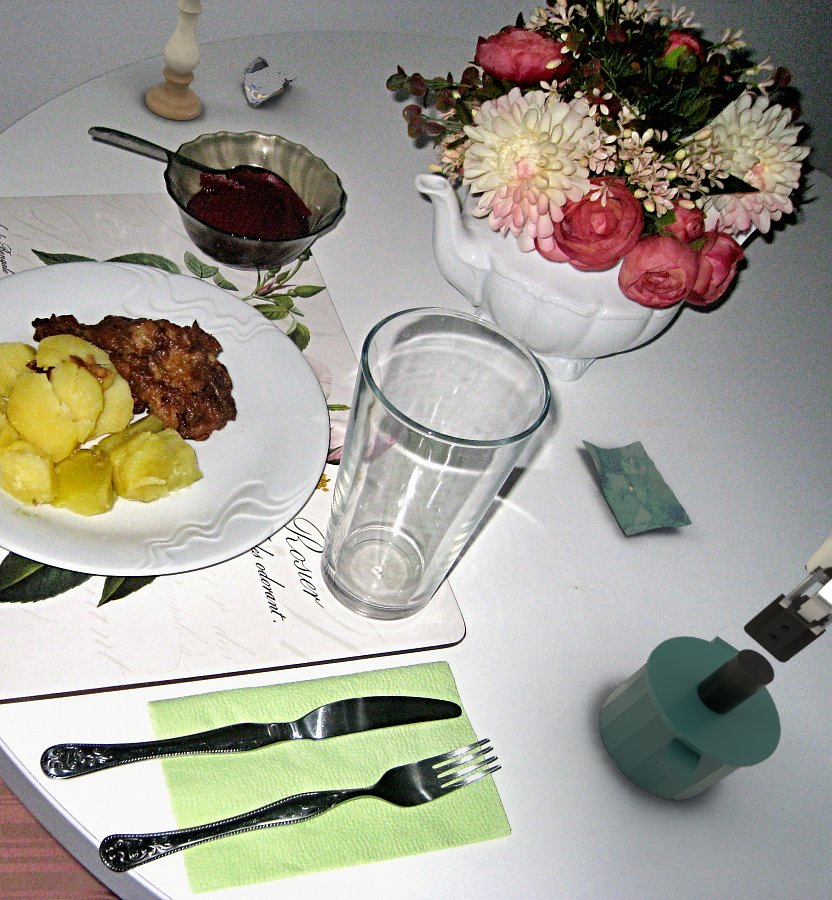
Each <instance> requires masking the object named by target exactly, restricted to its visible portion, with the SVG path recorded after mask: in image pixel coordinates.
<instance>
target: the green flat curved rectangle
mask: <svg viewBox="0 0 832 900" xmlns="http://www.w3.org/2000/svg"><path fill="white" fill-rule="evenodd" d="M581 442H582V444H583V445H584V448H585V449H586V451H587V452H588V454H589V455H590V456H591V458H592V460H593V463H594V465H595V468H596V471H597V473H598V477H599V481H600V484H601V489H602V493H603V496H604V498H605V499H606V501H607V503H608V504H609V506H610V508H611V510H612V512H613V513H614V516H615V519H616V521H617V523H618V524H619V525H620V527H621V529H622V531H623V532H624V534H625V535H626V536H633V535H635V534H639V533H642V532H647V531H650V530H655V529H659V528H682V527H687V526H690V525H693V522H692V520H691V519H690V517H689V515H688V513H687V512H686V509H685V508H684V507H683V505H682V503H680V501H679V499H678V498H677V497H676V494H675V493H674V491H673V490H672V488H671V487H670V486H669V485H668V484H667V482H666V481H665V479H664V477H663V476H662V473H661V472H660V470H658V468H657V466H656V464H655V462H654V460H652V458H651V457H650V456H649V455H648V453H647V451H646V449H645V447H644V445H643V444H642V441H640V440H638V441H633V442H631V443H629V444H625V445H622V446H619V447H618V446H617V447H614V448H605V447H600V446H598V445H595V444H593V443H591V442H589V441H587V440H585V439H581Z"/></svg>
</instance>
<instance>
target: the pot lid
mask: <svg viewBox="0 0 832 900" xmlns="http://www.w3.org/2000/svg"><path fill="white" fill-rule="evenodd" d="M739 651H740V652H739V653H737V654H736V655H734V654H732V653H731V652H729V651H728V650H726V649H724V648H723V647H721V646H719V645H717V644H715V643H712V642H711V640H706V639H704V638H700V637H695V636H688V635H687V636H686V635H683V636H682V635H681V636H674V637H670V638H668V639H666V640H663V641H662V642H660V643H659V644H657V646H655V648H654V649H653V650H652V651H651V652H650V654H649V655H648V658H647V661H646V663H645V664H646V669H645V680H646V686H647V690H648V694H649V696H650V699H651V702H652V704H653V706H654V708H655V710H656V711H657V713H658V714H659V716H660V718H661V719H662V720H663V722H664V723H665V724H666V726H667V727H668V728H669V729H670V730H671V731H672V733H673V734H674V735H675V736H676V737H677V738H678V739H680V740H681V741H682V742H683V743H684V744H685V745H687V746H688V747H689V748H690V749H692V750H693V751H695V752H696V753H698V754H700V755H701V756H703V757H705V758H707V759H709V760H711V761H714V762H716V763H719V764H723V765H726V766H732V767H740V768H749V767H754V766H756V765H759V764H761V763H763V762H765V761H766V760H768V759H770V757H771V756H772V755H773V754H774V753H775V752H776V750H777V748H778V746H779V743H780V740H781V733H782V731H781V729H782V726H781V720H780V719H781V718H780V715H779V712H778V711H779V710H778V709H777V705H776V703H775V701H774V699H773V697H772V695H771V693H770V691H769V690H768V688H767V686H769V684H771V683H773V681H774V679H775V671H774V667H773V665H772V664H771V662H770V661H769V660H768V659H767V658H766V657H765V656H764V655H763V654H761V653H760V652H759V651H756V650H754V649H750V648H744V649H741V650H739Z"/></svg>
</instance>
